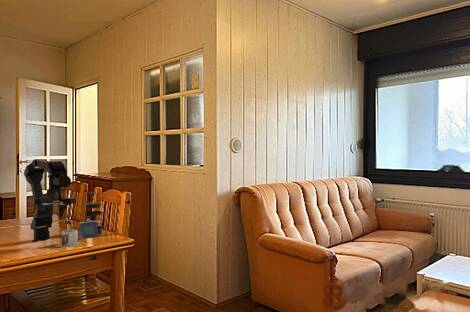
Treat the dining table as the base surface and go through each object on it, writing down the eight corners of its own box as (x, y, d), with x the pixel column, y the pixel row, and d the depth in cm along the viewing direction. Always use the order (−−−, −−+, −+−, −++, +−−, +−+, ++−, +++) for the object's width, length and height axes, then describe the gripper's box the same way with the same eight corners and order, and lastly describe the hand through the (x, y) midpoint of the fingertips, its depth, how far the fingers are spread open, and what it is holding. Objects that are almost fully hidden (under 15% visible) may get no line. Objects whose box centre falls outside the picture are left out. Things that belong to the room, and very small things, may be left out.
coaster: (53, 247, 170) (53, 246, 170) (66, 242, 180) (65, 241, 180) (73, 248, 169) (73, 246, 169) (84, 242, 179) (84, 241, 179)
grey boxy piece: (55, 246, 169) (55, 233, 169) (67, 242, 178) (66, 229, 178) (69, 247, 168) (69, 233, 168) (80, 242, 177) (79, 229, 177)
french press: (83, 236, 193) (83, 193, 193) (82, 233, 202) (81, 192, 201) (106, 233, 199) (106, 192, 199) (104, 230, 207) (103, 191, 207)
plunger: (63, 234, 172) (63, 221, 172) (68, 232, 176) (67, 220, 176) (71, 234, 172) (70, 221, 172) (75, 232, 176) (75, 220, 176)
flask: (79, 240, 184) (79, 219, 184) (78, 239, 187) (78, 218, 187) (98, 238, 189) (97, 217, 189) (97, 237, 191) (96, 217, 191)
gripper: (26, 188, 168) (26, 221, 168) (63, 188, 166) (64, 221, 166) (41, 186, 179) (42, 217, 179) (76, 186, 177) (77, 217, 177)
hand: (55, 218), depth 175 cm, fingers open, 5 cm apart
